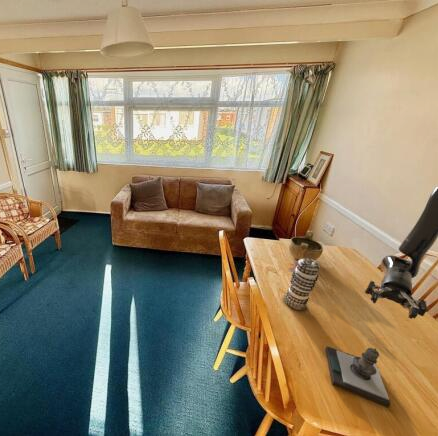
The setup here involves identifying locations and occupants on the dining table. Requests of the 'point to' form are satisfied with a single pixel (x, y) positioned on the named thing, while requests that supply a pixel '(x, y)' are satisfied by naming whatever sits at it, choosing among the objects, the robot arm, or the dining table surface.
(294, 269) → the lily
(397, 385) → the dining table surface
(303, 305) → the decorative candle
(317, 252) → the ceramic bowl
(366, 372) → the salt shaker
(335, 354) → the scale
